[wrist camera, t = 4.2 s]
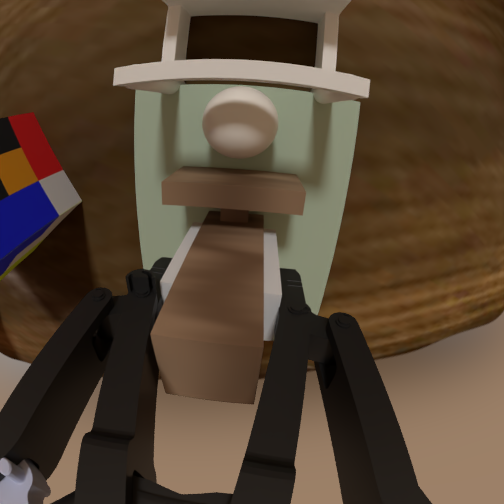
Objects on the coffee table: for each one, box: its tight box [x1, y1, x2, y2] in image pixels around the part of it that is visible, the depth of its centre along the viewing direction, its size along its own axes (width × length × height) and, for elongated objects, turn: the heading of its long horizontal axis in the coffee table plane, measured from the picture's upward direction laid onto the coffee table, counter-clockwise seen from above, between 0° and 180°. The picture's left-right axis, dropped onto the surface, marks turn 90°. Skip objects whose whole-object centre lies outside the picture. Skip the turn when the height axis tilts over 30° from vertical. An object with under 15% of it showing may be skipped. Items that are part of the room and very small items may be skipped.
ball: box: [202, 86, 279, 159], centre depth 13 cm, size 4×4×4 cm
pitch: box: [113, 0, 370, 340], centre depth 15 cm, size 14×26×8 cm, turn 176°
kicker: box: [150, 166, 306, 404], centre depth 13 cm, size 7×6×11 cm
